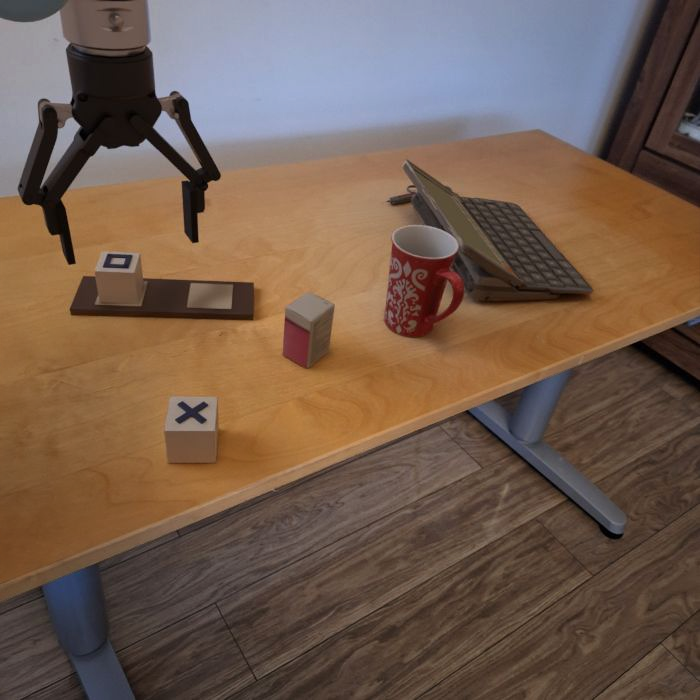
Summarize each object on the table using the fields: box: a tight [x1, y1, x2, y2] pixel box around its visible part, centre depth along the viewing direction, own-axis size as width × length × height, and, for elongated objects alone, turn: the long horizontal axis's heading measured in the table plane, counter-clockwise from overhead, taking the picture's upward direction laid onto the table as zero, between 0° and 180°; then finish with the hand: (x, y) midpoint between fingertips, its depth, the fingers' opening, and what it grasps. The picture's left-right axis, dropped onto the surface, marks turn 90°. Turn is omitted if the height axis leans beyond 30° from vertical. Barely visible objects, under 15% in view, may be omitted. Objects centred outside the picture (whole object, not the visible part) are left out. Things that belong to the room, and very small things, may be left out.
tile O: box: [93, 250, 144, 304], centre depth 84 cm, size 5×5×5 cm
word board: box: [69, 275, 255, 321], centre depth 87 cm, size 24×8×1 cm, turn 96°
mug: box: [383, 224, 465, 338], centre depth 84 cm, size 13×9×14 cm
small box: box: [282, 291, 336, 369], centre depth 79 cm, size 5×4×8 cm
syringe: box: [381, 184, 453, 205], centre depth 121 cm, size 8×18×2 cm, turn 124°
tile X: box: [163, 395, 220, 464], centre depth 66 cm, size 5×5×5 cm
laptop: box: [401, 159, 594, 302], centre depth 106 cm, size 26×32×10 cm
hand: (133, 247), depth 70 cm, fingers open, 13 cm apart
